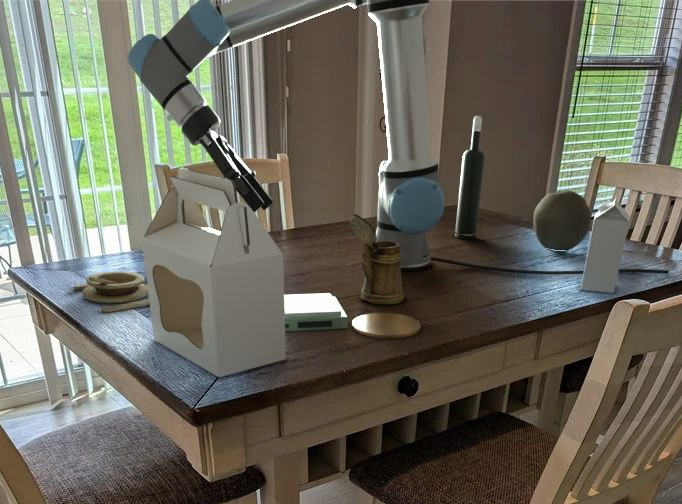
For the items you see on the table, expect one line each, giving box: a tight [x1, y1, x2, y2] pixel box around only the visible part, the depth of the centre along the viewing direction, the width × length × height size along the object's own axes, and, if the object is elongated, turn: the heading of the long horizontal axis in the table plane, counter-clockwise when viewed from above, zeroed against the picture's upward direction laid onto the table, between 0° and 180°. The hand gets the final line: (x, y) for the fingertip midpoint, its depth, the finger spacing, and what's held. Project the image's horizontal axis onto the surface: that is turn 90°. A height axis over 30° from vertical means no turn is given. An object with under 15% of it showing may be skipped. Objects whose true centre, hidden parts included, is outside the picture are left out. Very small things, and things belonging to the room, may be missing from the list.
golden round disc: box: [351, 312, 422, 339], centre depth 137 cm, size 13×13×1 cm
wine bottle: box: [454, 115, 486, 240], centre depth 195 cm, size 6×6×30 cm
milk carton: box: [580, 194, 631, 294], centre depth 158 cm, size 7×7×19 cm
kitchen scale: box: [284, 292, 349, 332], centre depth 139 cm, size 14×13×3 cm
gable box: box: [141, 167, 287, 379], centre depth 118 cm, size 22×13×28 cm, turn 40°
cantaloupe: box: [532, 190, 591, 253], centre depth 186 cm, size 14×14×15 cm
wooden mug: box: [349, 213, 405, 306], centre depth 146 cm, size 9×14×18 cm, turn 134°
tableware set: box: [73, 271, 150, 313], centre depth 153 cm, size 30×20×6 cm, turn 125°
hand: (264, 207), depth 150 cm, fingers open, 13 cm apart
